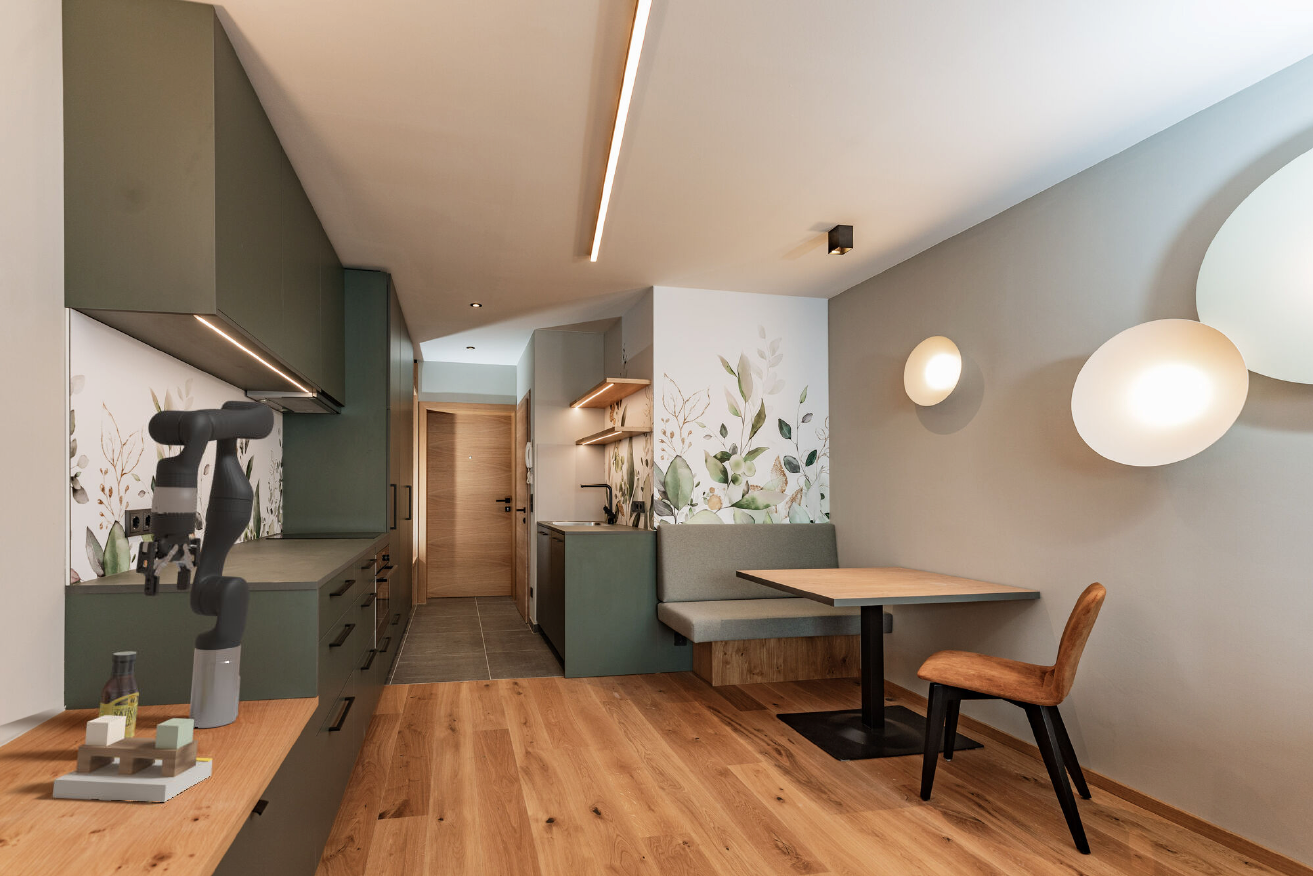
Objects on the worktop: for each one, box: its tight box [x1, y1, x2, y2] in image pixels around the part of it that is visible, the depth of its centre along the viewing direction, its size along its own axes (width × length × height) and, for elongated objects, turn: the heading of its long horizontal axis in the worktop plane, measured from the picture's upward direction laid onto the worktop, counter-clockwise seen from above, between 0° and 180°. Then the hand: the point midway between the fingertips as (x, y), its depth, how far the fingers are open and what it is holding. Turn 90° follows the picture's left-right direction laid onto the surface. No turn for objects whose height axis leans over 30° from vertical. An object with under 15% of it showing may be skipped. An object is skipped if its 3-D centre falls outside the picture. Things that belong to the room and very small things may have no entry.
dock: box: [52, 757, 213, 802], centre depth 129 cm, size 12×20×3 cm, turn 87°
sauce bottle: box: [98, 651, 140, 737], centre depth 145 cm, size 6×6×20 cm
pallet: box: [75, 736, 199, 777], centre depth 130 cm, size 6×18×4 cm, turn 87°
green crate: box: [155, 717, 194, 749], centre depth 130 cm, size 4×4×4 cm
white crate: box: [84, 715, 126, 746], centre depth 130 cm, size 4×4×4 cm
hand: (167, 592), depth 141 cm, fingers open, 8 cm apart
